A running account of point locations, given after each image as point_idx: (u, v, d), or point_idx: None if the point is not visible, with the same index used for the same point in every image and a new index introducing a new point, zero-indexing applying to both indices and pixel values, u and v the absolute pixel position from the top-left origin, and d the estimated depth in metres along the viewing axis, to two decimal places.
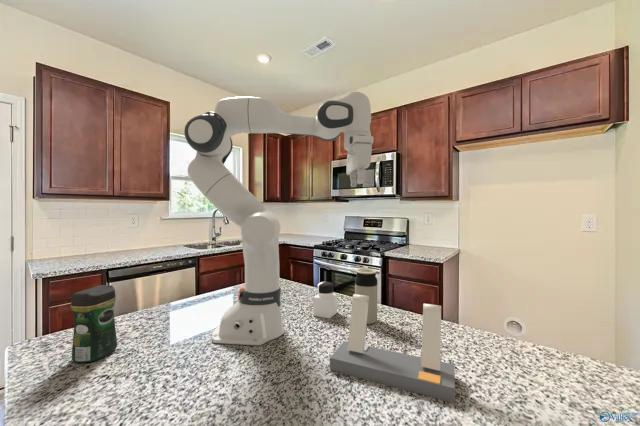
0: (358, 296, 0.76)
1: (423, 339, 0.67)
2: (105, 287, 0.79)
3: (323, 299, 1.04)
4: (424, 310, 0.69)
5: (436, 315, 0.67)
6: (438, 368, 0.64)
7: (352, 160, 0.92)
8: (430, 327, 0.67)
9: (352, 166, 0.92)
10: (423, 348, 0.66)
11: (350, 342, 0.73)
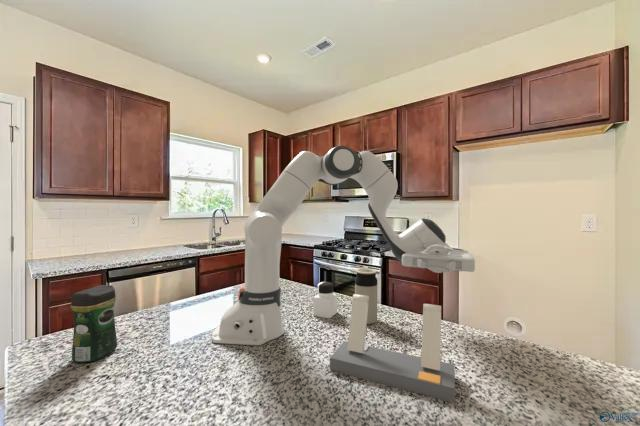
0: (358, 296, 0.76)
1: (423, 339, 0.67)
2: (105, 287, 0.79)
3: (323, 299, 1.04)
4: (424, 310, 0.69)
5: (436, 315, 0.67)
6: (438, 368, 0.64)
7: (440, 255, 0.86)
8: (430, 327, 0.67)
9: (441, 256, 0.84)
10: (423, 348, 0.66)
11: (350, 342, 0.73)
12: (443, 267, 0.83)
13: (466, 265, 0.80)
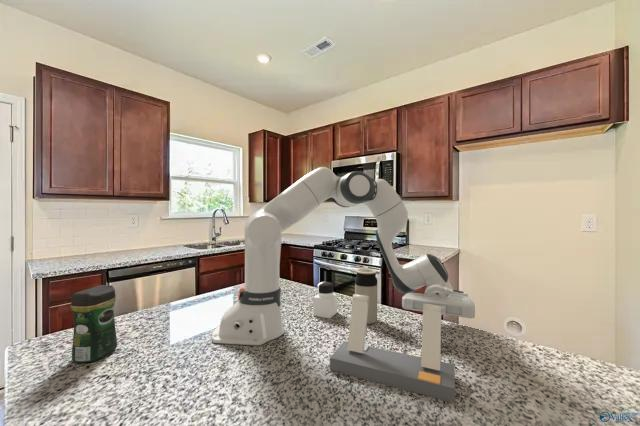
0: (358, 296, 0.76)
1: (423, 339, 0.67)
2: (105, 287, 0.79)
3: (323, 299, 1.04)
4: (424, 310, 0.69)
5: (436, 315, 0.67)
6: (438, 368, 0.64)
7: (440, 299, 0.86)
8: (430, 327, 0.67)
9: (441, 301, 0.84)
10: (423, 348, 0.66)
11: (350, 342, 0.73)
12: None
13: (466, 312, 0.80)
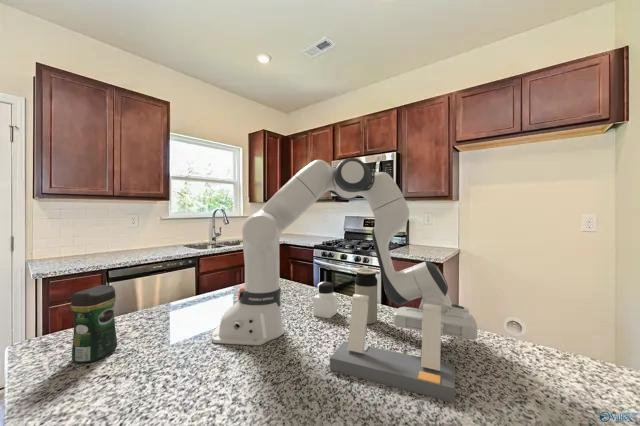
0: (358, 296, 0.76)
1: (423, 339, 0.66)
2: (105, 287, 0.79)
3: (323, 299, 1.04)
4: (424, 310, 0.68)
5: (436, 315, 0.67)
6: (438, 368, 0.64)
7: None
8: (430, 327, 0.67)
9: None
10: (423, 348, 0.66)
11: (350, 342, 0.73)
12: None
13: (467, 332, 0.69)
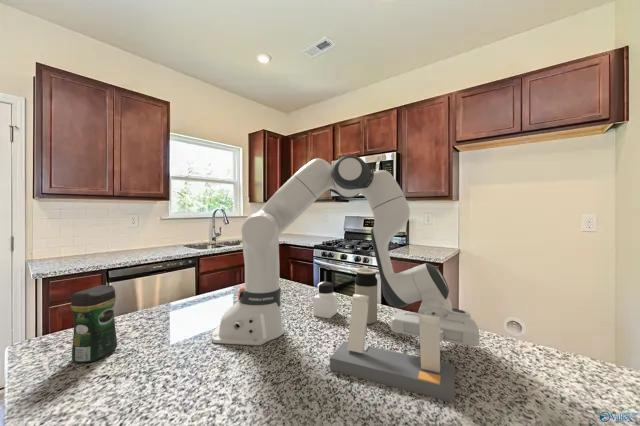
0: (358, 296, 0.76)
1: (421, 348, 0.63)
2: (105, 287, 0.79)
3: (323, 299, 1.04)
4: (421, 324, 0.61)
5: (435, 329, 0.60)
6: (438, 371, 0.63)
7: None
8: (428, 338, 0.62)
9: None
10: (422, 355, 0.64)
11: (350, 342, 0.73)
12: None
13: (469, 338, 0.65)
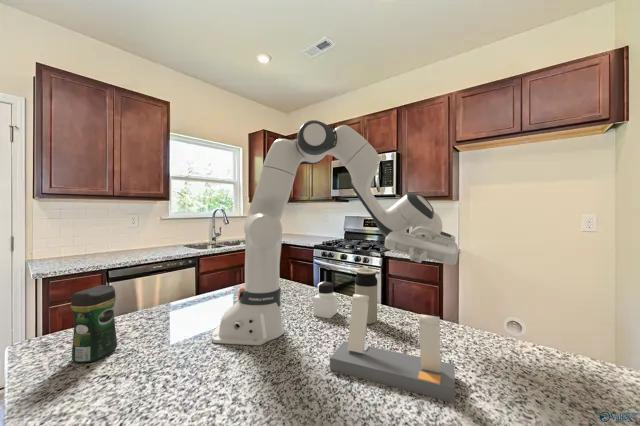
0: (358, 296, 0.76)
1: (421, 348, 0.63)
2: (105, 287, 0.79)
3: (323, 299, 1.04)
4: (421, 324, 0.61)
5: (435, 329, 0.60)
6: (438, 371, 0.63)
7: (425, 242, 0.82)
8: (428, 338, 0.62)
9: (425, 245, 0.80)
10: (422, 355, 0.64)
11: (350, 342, 0.73)
12: None
13: (448, 259, 0.77)
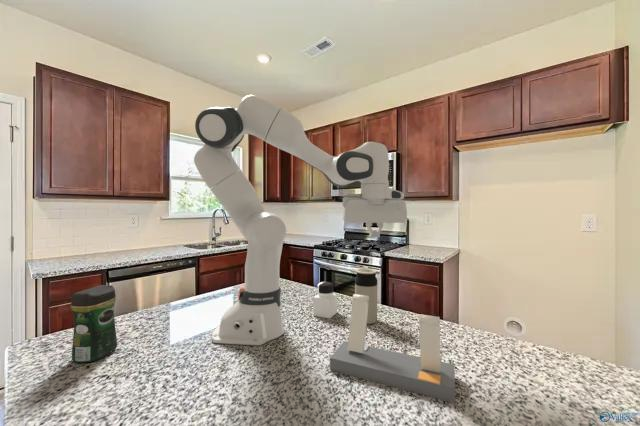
0: (358, 296, 0.76)
1: (421, 348, 0.63)
2: (105, 287, 0.79)
3: (323, 299, 1.04)
4: (421, 324, 0.61)
5: (435, 329, 0.60)
6: (438, 371, 0.63)
7: (379, 212, 0.89)
8: (428, 338, 0.62)
9: (380, 218, 0.89)
10: (422, 355, 0.64)
11: (350, 342, 0.73)
12: None
13: None
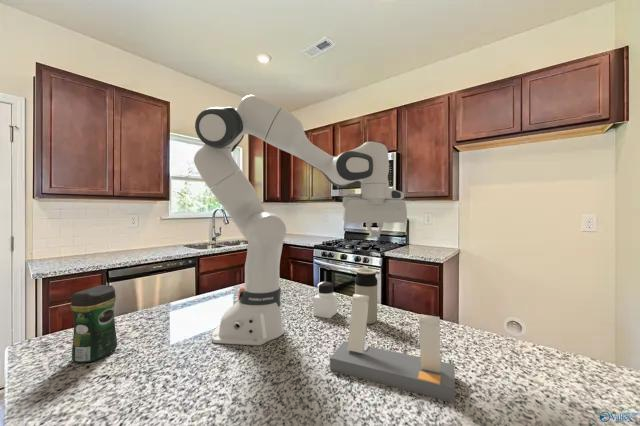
0: (358, 296, 0.76)
1: (421, 348, 0.63)
2: (105, 287, 0.79)
3: (323, 299, 1.04)
4: (421, 324, 0.61)
5: (435, 329, 0.60)
6: (438, 371, 0.63)
7: (379, 212, 0.89)
8: (428, 338, 0.62)
9: (380, 218, 0.89)
10: (422, 355, 0.64)
11: (350, 342, 0.73)
12: None
13: None
